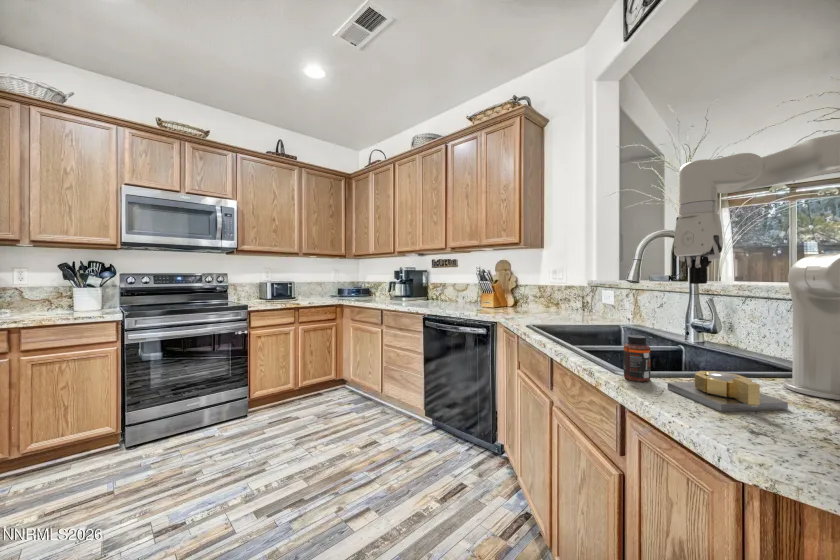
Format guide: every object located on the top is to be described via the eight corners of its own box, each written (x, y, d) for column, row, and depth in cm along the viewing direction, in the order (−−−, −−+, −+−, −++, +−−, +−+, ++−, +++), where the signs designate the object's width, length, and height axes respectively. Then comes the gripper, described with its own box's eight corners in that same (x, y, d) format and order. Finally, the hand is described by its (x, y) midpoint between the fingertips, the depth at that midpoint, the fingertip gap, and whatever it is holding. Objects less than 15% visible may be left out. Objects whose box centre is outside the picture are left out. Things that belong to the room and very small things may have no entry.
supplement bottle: (654, 383, 87) (654, 338, 87) (628, 382, 89) (628, 337, 88) (644, 376, 93) (644, 334, 93) (620, 375, 94) (620, 334, 94)
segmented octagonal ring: (687, 383, 81) (687, 366, 81) (729, 384, 80) (729, 367, 80) (728, 403, 68) (728, 383, 68) (779, 405, 67) (780, 385, 67)
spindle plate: (723, 387, 84) (723, 365, 84) (796, 412, 68) (796, 386, 68) (667, 388, 83) (667, 367, 83) (727, 414, 68) (727, 388, 67)
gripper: (661, 216, 95) (661, 283, 95) (710, 205, 80) (710, 284, 80) (687, 216, 95) (687, 282, 96) (741, 205, 80) (741, 284, 81)
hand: (698, 283), depth 88 cm, fingers closed
